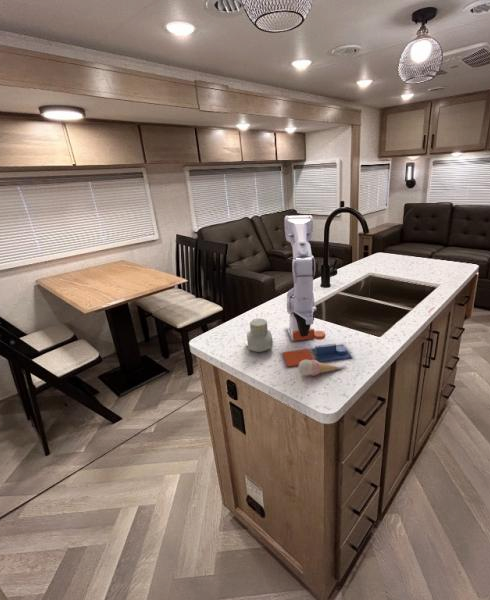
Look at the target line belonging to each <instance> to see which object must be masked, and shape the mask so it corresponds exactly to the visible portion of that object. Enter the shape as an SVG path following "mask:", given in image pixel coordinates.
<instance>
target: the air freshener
mask: <svg viewBox="0 0 490 600" xmlns="http://www.w3.org/2000/svg"><path fill="white" fill-rule="evenodd" d="M246 341H247V349H248V350H249V351H252V352H257V353H262V352H266V351H268V350H270V349H271V348H272V347H273V346H274V342H273V335H272V332H271V330H269V329H268V321H267V320H266V319H264V318H254V319H252V320H251V321H250V322H249V331H248V332H247V333H246Z"/></svg>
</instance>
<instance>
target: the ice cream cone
mask: <svg viewBox="0 0 490 600" xmlns="http://www.w3.org/2000/svg"><path fill="white" fill-rule="evenodd" d="M297 369H298V372H299V373H300V374H301V375H303V376H317V375H319V374H322V373H327V372H332V371H336V370H341V369H343V368H342V367H340V366H335V365H332V364H328V363H325V362H319V361H318V360H317V359H314V360H307V359H306V360H302V361H301V362H300V363H299V365H298V366H297Z"/></svg>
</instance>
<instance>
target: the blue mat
mask: <svg viewBox="0 0 490 600" xmlns="http://www.w3.org/2000/svg"><path fill="white" fill-rule="evenodd" d="M339 345H340V344H336V346H339ZM341 345H342V346H344V344H341ZM312 352H313V353H314V355H315V357H316V360H317V361H318V362H320V363H326V362H327V363H328V362H332V361H340V360H347V359H352V355H351V354H350V353H349V351H348V350H347V352H346V353H345V354H342V355H340V354H337V353H331V354H323V355H316V354H315V347H314V348H312Z"/></svg>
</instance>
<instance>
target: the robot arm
mask: <svg viewBox="0 0 490 600" xmlns="http://www.w3.org/2000/svg"><path fill="white" fill-rule="evenodd" d="M313 230H314V218H313V216H312V214H309V215H285V216H284V236H285V240H286V242H288V243H289V244H290V246H291V247H292V261H291V265H292V266H291V267H292V268H291V269H292V276H293V287H292V288H291V289H289V290H288V291H287V293H286V313H288V314H289V327H287V329H286V330H287V332H288V334H289V337H290V339H291V341H292V342H294V341H293V331H298V330H300V335H301V337H303V336H307V335H308V332H309V329H311V325H314V321H315V316H314V312H315V311H317V307H316V303H315V297H314V295H315V294H314V277H315V274H316V260H315V256H314V255H313V253H312V248H311V247H312V246H311V243H310V242H309V241H311V240H312V237H313ZM297 341H299V340H297Z"/></svg>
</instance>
